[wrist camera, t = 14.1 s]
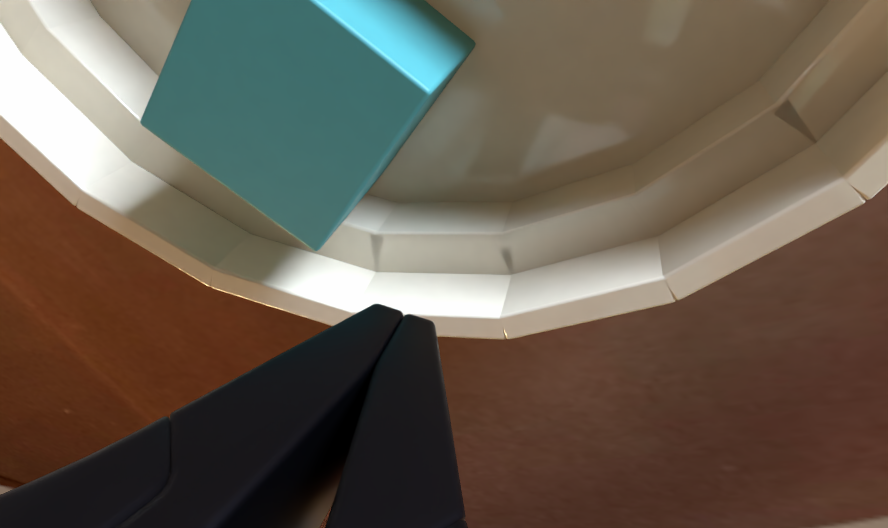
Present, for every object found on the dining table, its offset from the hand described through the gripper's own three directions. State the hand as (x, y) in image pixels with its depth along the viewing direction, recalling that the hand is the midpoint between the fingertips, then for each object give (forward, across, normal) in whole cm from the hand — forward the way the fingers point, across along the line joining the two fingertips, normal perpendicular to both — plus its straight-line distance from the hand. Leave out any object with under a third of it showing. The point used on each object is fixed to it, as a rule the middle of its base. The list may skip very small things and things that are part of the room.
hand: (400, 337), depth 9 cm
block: (+7, +4, -1) cm, 8 cm away
